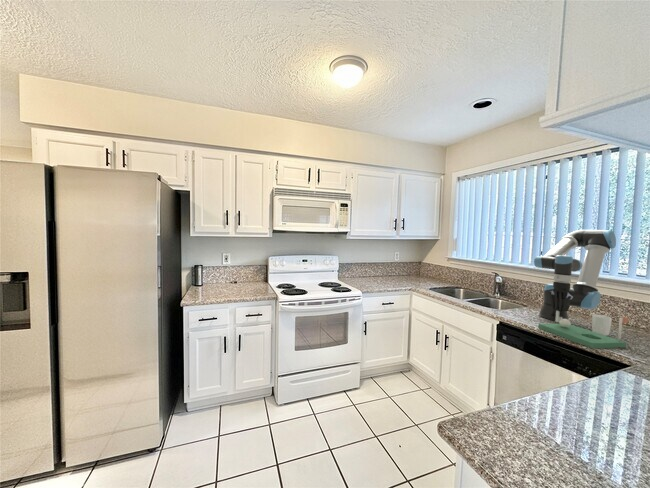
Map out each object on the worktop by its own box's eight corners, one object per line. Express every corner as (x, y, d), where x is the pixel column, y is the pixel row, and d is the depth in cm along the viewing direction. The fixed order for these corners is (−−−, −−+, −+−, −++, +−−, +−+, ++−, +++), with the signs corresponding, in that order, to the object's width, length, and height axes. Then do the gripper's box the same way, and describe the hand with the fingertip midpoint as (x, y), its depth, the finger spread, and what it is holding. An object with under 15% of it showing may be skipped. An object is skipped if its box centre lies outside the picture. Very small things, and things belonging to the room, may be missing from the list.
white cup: (614, 336, 149) (616, 319, 149) (597, 335, 150) (599, 317, 150) (602, 331, 157) (604, 314, 156) (587, 330, 158) (588, 313, 158)
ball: (562, 322, 158) (567, 316, 155) (569, 329, 154) (575, 323, 151) (555, 322, 157) (560, 316, 154) (562, 329, 153) (567, 324, 150)
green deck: (570, 327, 162) (572, 303, 162) (629, 347, 135) (631, 318, 134) (538, 327, 159) (540, 303, 158) (592, 348, 131) (594, 319, 131)
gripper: (545, 279, 162) (542, 318, 163) (567, 283, 149) (564, 325, 150) (556, 280, 163) (553, 318, 164) (579, 284, 150) (575, 325, 151)
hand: (558, 321), depth 157 cm, fingers closed
